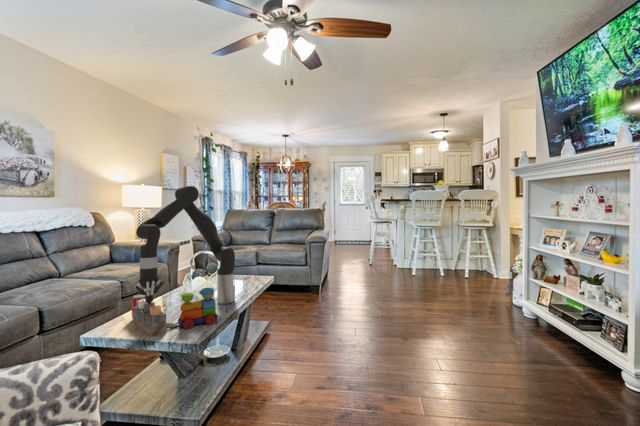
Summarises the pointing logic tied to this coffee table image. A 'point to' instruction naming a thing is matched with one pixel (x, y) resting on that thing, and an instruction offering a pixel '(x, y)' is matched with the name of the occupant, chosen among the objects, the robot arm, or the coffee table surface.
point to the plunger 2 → (155, 310)
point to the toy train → (197, 310)
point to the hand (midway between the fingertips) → (149, 302)
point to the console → (150, 322)
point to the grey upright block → (148, 306)
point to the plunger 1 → (141, 304)
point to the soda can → (136, 302)
